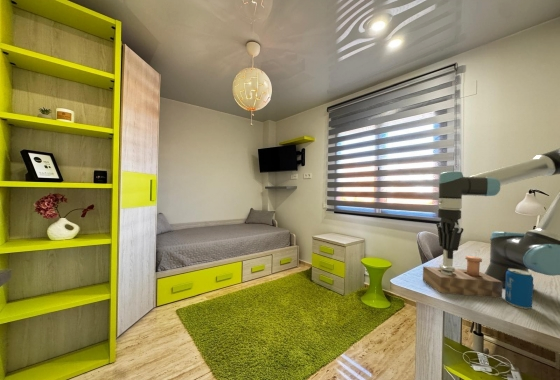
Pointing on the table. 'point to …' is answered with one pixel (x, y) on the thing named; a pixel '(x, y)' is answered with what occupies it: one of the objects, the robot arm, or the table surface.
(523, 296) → the beverage can
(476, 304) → the table surface
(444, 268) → the grey plug
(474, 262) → the terracotta plug
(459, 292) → the socket block
